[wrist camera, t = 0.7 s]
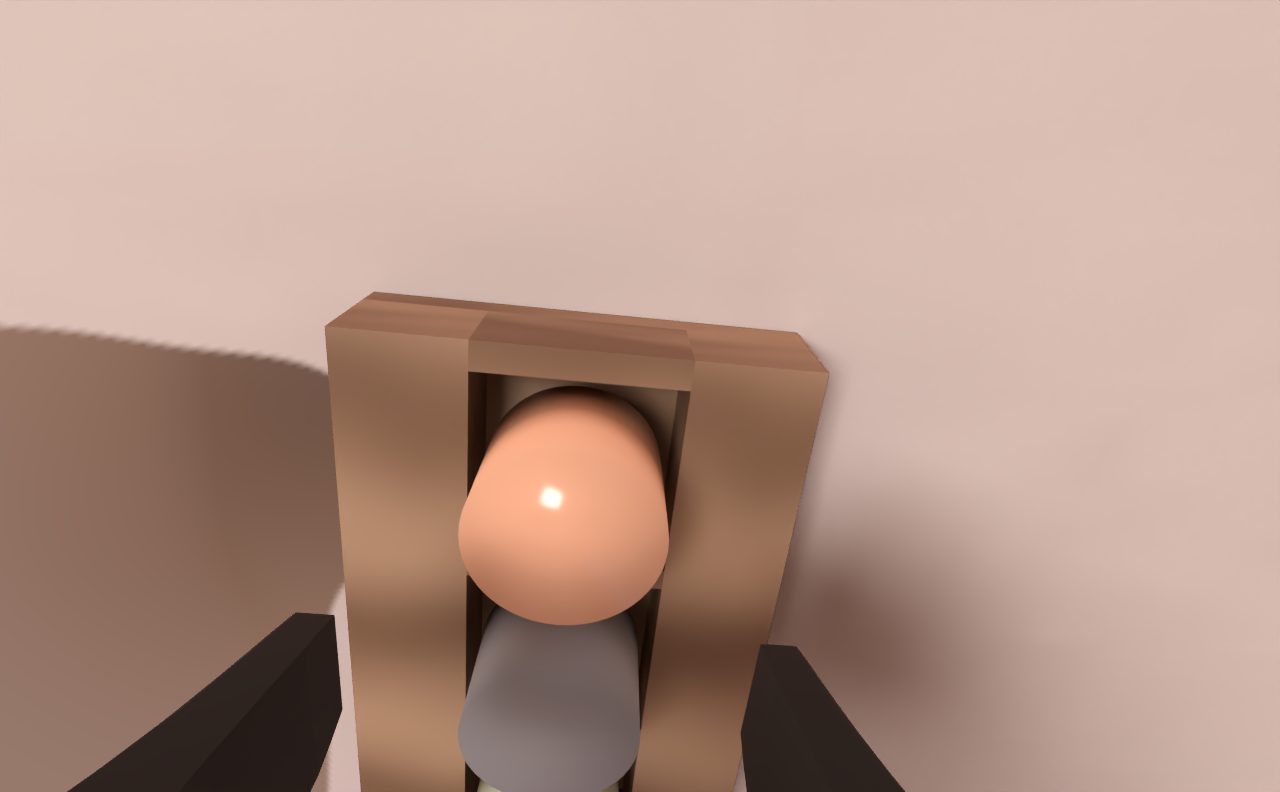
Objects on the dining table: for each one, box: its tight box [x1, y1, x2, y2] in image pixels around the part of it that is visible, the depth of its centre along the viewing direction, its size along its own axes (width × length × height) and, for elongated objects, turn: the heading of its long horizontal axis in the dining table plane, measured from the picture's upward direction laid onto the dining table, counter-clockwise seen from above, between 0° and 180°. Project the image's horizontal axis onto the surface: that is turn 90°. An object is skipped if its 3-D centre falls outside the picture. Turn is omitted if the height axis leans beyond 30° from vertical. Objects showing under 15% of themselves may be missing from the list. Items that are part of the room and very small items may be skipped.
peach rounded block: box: [458, 386, 669, 625], centre depth 16 cm, size 5×5×4 cm
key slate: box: [458, 604, 640, 792], centre depth 18 cm, size 5×5×4 cm
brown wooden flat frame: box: [325, 292, 829, 792], centre depth 21 cm, size 19×12×3 cm, turn 174°
